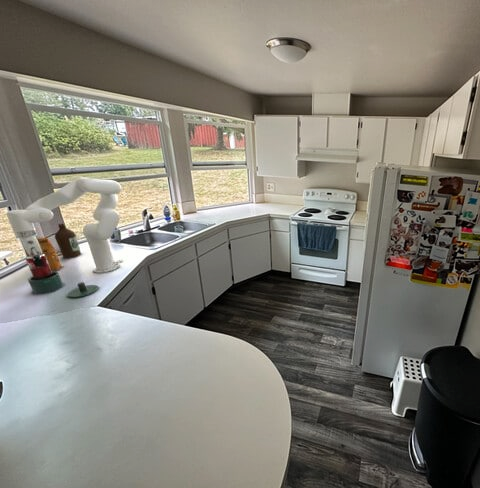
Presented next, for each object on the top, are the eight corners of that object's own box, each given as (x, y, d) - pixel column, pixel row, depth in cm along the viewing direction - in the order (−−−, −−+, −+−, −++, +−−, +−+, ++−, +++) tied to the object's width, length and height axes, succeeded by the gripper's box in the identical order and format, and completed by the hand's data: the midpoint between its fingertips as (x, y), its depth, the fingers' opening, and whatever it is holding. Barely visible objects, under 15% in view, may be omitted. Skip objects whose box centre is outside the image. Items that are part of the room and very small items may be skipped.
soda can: (40, 279, 135) (31, 259, 131) (29, 277, 137) (21, 257, 132) (56, 273, 142) (48, 254, 138) (46, 272, 143) (38, 252, 139)
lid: (94, 284, 148) (92, 275, 146) (101, 291, 141) (99, 282, 139) (65, 293, 138) (62, 284, 136) (71, 301, 132) (68, 291, 130)
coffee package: (57, 271, 161) (45, 239, 154) (31, 274, 157) (17, 242, 149) (65, 265, 170) (54, 235, 162) (40, 268, 165) (27, 237, 158)
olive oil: (58, 259, 179) (45, 225, 170) (69, 253, 189) (57, 221, 180) (76, 258, 181) (64, 225, 173) (85, 252, 191) (75, 221, 182)
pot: (59, 280, 151) (54, 268, 149) (66, 289, 142) (61, 276, 139) (31, 288, 142) (25, 275, 140) (36, 298, 133) (30, 284, 130)
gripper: (39, 235, 129) (51, 266, 135) (33, 228, 138) (45, 258, 144) (17, 238, 123) (31, 270, 129) (12, 231, 133) (25, 262, 139)
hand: (38, 263), depth 137 cm, fingers closed on soda can, 7 cm apart
